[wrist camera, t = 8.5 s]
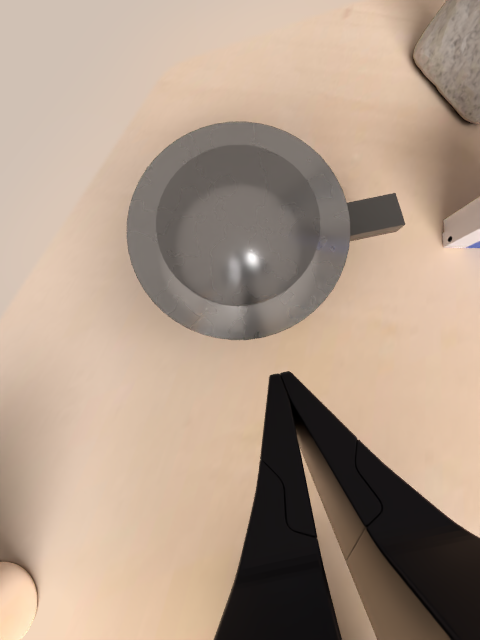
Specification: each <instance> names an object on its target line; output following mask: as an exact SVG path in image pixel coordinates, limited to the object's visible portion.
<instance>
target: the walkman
mask: <svg viewBox="0 0 480 640" xmlns="http://www.w3.org/2000/svg"><path fill="white" fill-rule="evenodd" d="M443 222H444V233H442V236H443V247H450V248H480V197H478V198H476V199H475V200H473V201H472V202H470V203H469V204H467V205H466V206H464V207H463V208H461V209H460V210H458V211H457V212H455V213H454V214H452V215H450V216H449V217H447V218H446V219H444V220H443Z"/></svg>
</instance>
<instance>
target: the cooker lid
mask: <svg viewBox="0 0 480 640" xmlns="http://www.w3.org/2000/svg"><path fill="white" fill-rule="evenodd" d="M349 242H350V218H349V212H348V206H347V203H346V199H345V196H344V193H343V190H342V188H341V186H340V184H339V182H338V180H337V178H336V176H335V175H334V173H333V172H332V170H331V169H330V167H329V166H328V165H327V163H326V162H325V161H324V160H323V159H322V157H321V156H320V155H319V154H318V153H316V152H315V151H314V150H313V149H312V148H311V147H310V146H309V145H307V144H306V143H304V142H303V141H301V140H300V139H299V138H297V137H295V136H293V135H291V134H289V133H287V132H285V131H283V130H280V129H277V128H275V127H272V126H268V125H264V124H259V123H252V122H226V123H219V124H214V125H210V126H206V127H203V128H200V129H198V130H195V131H193V132H190V133H188V134H186V135H185V136H183V137H181V138H179V139H178V140H176V141H175V142H173V143H172V144H171V145H169V146H168V147H167V148H165V149H164V150H163V151H162V152H161V153H160V154H159V155H158V156H157V157H156V158H155V159H154V160H153V162H152V163H151V164H150V165H149V167H148V168H147V169H146V171H145V172H144V174H143V175H142V177H141V179H140V180H139V182H138V185H137V187H136V189H135V191H134V194H133V197H132V200H131V203H130V207H129V212H128V219H127V243H128V251H129V255H130V259H131V263H132V266H133V268H134V271H135V273H136V276H137V278H138V280H139V282H140V283H141V285H142V287H143V289H144V290H145V292H146V293H147V294H148V296H149V297H150V298H151V300H152V301H153V302H154V303H155V304H156V305H157V306H158V307H159V308H160V309H161V310H162V311H163V312H164V313H165V314H167V315H168V316H169V317H171V318H172V319H173V320H174V321H176V322H178V323H179V324H181V325H183V326H185V327H186V328H188V329H190V330H193V331H195V332H198V333H200V334H203V335H207V336H211V337H215V338H220V339H229V340H248V339H255V338H262V337H266V336H269V335H273V334H276V333H279V332H281V331H283V330H286V329H288V328H290V327H292V326H294V325H295V324H297V323H299V322H300V321H302V320H303V319H305V318H306V317H307V316H308V315H310V314H311V313H312V312H314V311H315V310H316V309H317V308H318V307H319V306H320V304H321V303H322V302H323V301H324V300H325V299H326V298H327V296H328V295H329V294H330V292H331V291H332V290H333V288H334V286H335V284H336V283H337V281H338V279H339V277H340V275H341V273H342V270H343V267H344V265H345V262H346V258H347V254H348V250H349Z"/></svg>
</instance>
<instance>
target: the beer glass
mask: <svg viewBox="0 0 480 640" xmlns="http://www.w3.org/2000/svg"><path fill="white" fill-rule="evenodd" d="M36 610H37V591H36V587H35V584H34V582H33V579H32V578H31V576H30V575H29V573H28V572H27V571H26V570H25V569H23V568H22V567H21V566H19V565H17V564H14V563H11V562H0V640H21V639H22V638H23V637H24V635H25V634H26V633H27V631H28V630H29V628H30V626H31V624H32V622H33V620H34V617H35V614H36Z"/></svg>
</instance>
